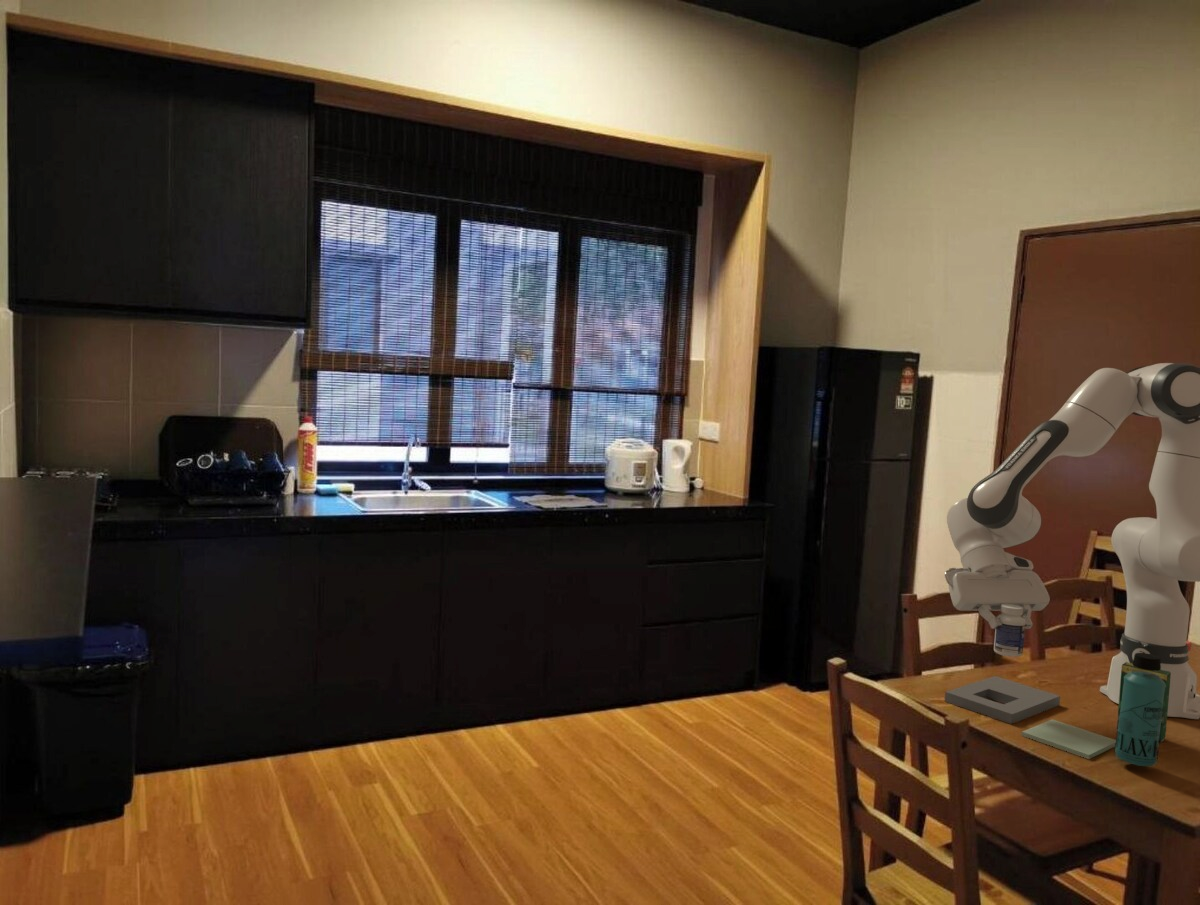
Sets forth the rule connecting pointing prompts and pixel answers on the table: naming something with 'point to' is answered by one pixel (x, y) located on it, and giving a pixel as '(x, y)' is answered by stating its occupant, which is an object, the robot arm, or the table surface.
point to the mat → (1070, 738)
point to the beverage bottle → (1141, 713)
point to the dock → (1002, 699)
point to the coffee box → (1166, 678)
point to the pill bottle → (1010, 631)
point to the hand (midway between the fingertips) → (1012, 627)
